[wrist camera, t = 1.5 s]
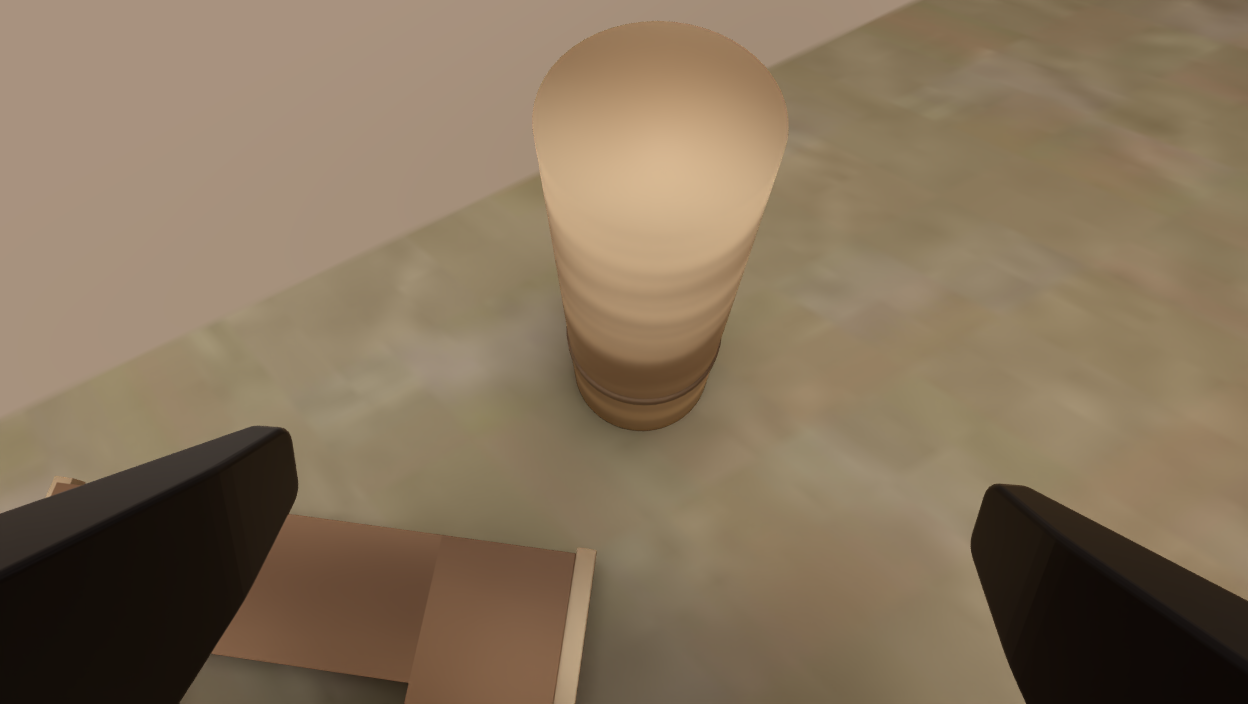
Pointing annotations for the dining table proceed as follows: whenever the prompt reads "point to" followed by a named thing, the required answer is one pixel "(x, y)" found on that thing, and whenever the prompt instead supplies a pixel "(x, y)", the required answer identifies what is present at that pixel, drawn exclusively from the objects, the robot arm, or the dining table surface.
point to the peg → (654, 205)
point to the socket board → (417, 611)
